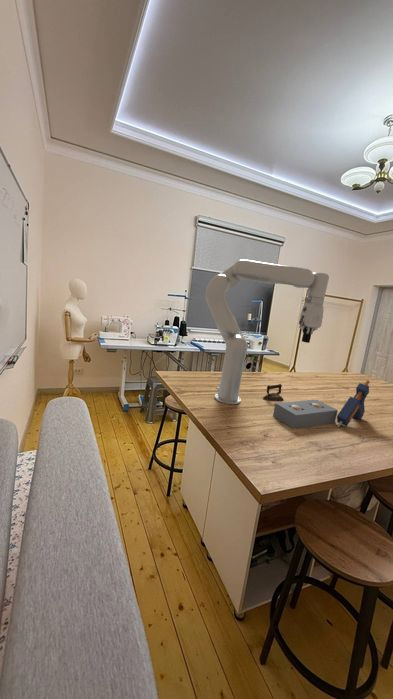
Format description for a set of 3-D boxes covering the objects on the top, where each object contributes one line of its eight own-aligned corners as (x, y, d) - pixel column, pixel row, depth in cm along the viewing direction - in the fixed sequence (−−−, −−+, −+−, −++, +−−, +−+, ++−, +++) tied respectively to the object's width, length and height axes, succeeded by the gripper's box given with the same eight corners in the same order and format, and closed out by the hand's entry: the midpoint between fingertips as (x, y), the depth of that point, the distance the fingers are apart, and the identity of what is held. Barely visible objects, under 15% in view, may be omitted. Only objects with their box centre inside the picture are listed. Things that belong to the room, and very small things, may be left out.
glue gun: (335, 442, 132) (333, 422, 124) (358, 396, 147) (358, 375, 138) (349, 448, 128) (348, 427, 119) (371, 399, 143) (372, 378, 134)
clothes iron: (284, 401, 149) (286, 384, 145) (267, 407, 144) (269, 390, 140) (274, 394, 155) (276, 378, 151) (258, 401, 150) (259, 384, 146)
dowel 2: (307, 413, 131) (309, 403, 130) (314, 412, 134) (316, 402, 132) (315, 417, 128) (317, 407, 127) (321, 416, 130) (324, 406, 129)
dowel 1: (286, 416, 125) (289, 405, 124) (294, 415, 127) (296, 404, 126) (294, 420, 121) (296, 409, 120) (301, 419, 124) (304, 408, 123)
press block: (272, 415, 127) (275, 403, 125) (313, 411, 139) (315, 399, 138) (293, 428, 116) (296, 415, 115) (334, 422, 129) (337, 410, 128)
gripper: (309, 300, 120) (300, 343, 124) (332, 304, 127) (323, 344, 131) (295, 299, 126) (287, 339, 130) (318, 302, 134) (310, 340, 137)
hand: (305, 342), depth 131 cm, fingers closed
